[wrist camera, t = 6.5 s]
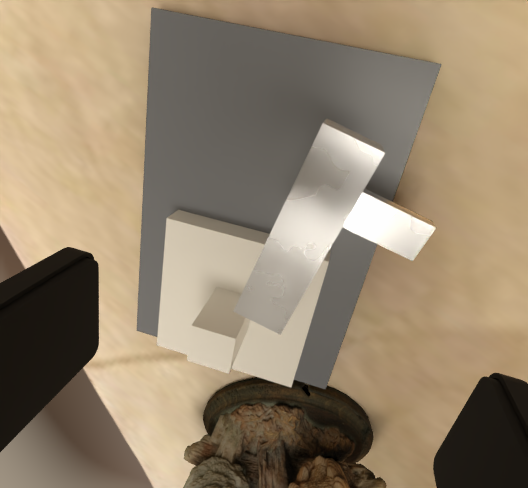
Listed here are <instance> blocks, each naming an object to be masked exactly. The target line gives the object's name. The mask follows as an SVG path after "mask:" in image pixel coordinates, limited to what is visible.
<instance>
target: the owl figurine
mask: <svg viewBox="0 0 528 488" xmlns="http://www.w3.org/2000/svg"><path fill="white" fill-rule="evenodd" d="M304 385H305V383H303V382H300V381H297V380H293V384H292V387H287V386H284V385H281V384H278V383H275V382H272V381H268V380H265V379H262V378H254V379H249V380H245V381H240V382H237V383H233V384H231V385H228V386H226V387H225V388H223V389H222V390H220V391H218V392H216V393H215V396H213V398H212V399H211V400H210V401H208V403H207V406H206V408H205V410H204V414H203V421H204V425H205V429H206V431H207V433H208V434H209V435H205V436H204V437H203V438H202V439H201V441H198V442H197V443H193V444H192V445H191V446H188V447H187V448H186V450H185V453H184V456H185V457H184V459H185V460H187V461H188V462H190V463H191V464H194V465H196V467H194V468H193V469H192V470H191V472H190V476H189V478H188V479H187V481H186V483H185V485H184V487H183V488H386V483H385V481H383V479H382V478H380V477H379V478H377V479H375V475H374V474H373V473H372V472H371V471H370V470H368V469H367V468H366V467H365V466H363V465H361V464H356V462H358V461H360V460H361V459H362V458H363V457H364V456H365V455H366V454H367V453H368V452H369V450H370V448H371V445H372V441H373V431H372V428H371V425H370V422H369V420H368V416H367V415H366V414H365V412H364V411H363V409H362V408H361V407H360V406H359V405H358V404H357V403H356V402H354V401H353V400H352V399H351V398H349V397H348V396H347V395H345V394H344V393H342V392H340V391H338V390H336V389H333V388H330V387H326V389H322V388H319V387H316V386H313V385H309V386H308V390H309V392H310V396H307V395H306V393H305V392H304V390H303V389H302V387H303V386H304ZM320 455H324V456H323V457H321V456H320Z"/></svg>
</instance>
